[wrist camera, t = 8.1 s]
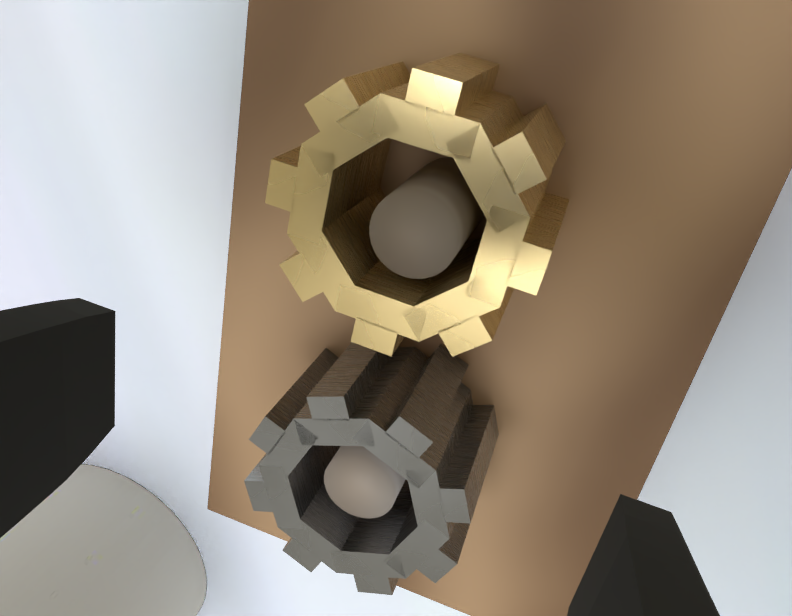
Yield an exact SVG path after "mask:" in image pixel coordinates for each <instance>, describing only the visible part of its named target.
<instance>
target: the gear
mask: <svg viewBox="0 0 792 616" xmlns="http://www.w3.org/2000/svg"><path fill="white" fill-rule="evenodd" d="M468 366H469V365H468V364H467V363H466V362H464V361H463V360H462V359H460V358H459V357H458V356H457V355H455V356H453V357H452V356H451V354H450V352H449V350H448V349H447V348H446V347H445V346H444V345H442V344H440V345H439V346H438V347H437V348H436V350H435V351H434V352H433V353H432V354H431V356H430V357H428V356H426V355H425V354H424V353H422V352H421V351H420V350H419V349H417V348H416V347H398V348H397V349H396V351H395V352H394V354H393V355H392V357H391V356H388V355H386V354H383V353H380V352H378V351H375V350H372V349H369V348H367V347H364V346H361V345H359V344H356V343H353V342H351V344H350V345H349V346H348V347H347V348H346V350H345V351H344V352H343V353H342V354H341V356H340V357H337V356H336V355H335V354H333V353H332V352H331V351H330V350H328V349H327V348H325V349H324V350H323V352H322V353H321V354H320V355H319V356H318V357H317V358H316V360H315V361H314V362H313V363H312V364H311V365H310V366H309V367H308V369H307V370H306V371H305V372H304V373H303V374H302V375H301V376H300V378H299V379H298V380H297V381H296V382H295V383H294V384H293V385H292V387H291V388H290V389H289V390H288V391H287V392H286V393H285V394H284V396H283V397H282V398H281V399H280V400H279V401H278V402H277V404H276V405H275V406H274V407H273V408H272V409H271V410H270V411H269V413H268V414H267V415H266V416H265V417H264V419H263V420H262V421H261V423H260V424H259V426H258V427H257V429H256V430H255V431H254V433H253V434H252V436H251V437H250V438H249V440H250V441H251V442H252V443H254V444H255V445H256V446H257V447H259V448H260V449H261V450H263V451H264V452H265V453H266V454H265V455H264V457H263V458H262V459H261V460H260V462H259V463H258V464H257V465H256V467H255V468H254V469H253V470H252V471H251V473H250V474H249V475H248V476H247V478H246V479H245V480H244V482H245V485H246V489H247V492H248V495H249V498H250V501H251V504H252V508H253V511H262V512H273V514H274V517H275V520H276V523H277V527H278V528H279V529H280V530H282V531H283V532H284V533H286V534H287V535H288V536H290V537H291V538H290V539H289V541H288V543H287V544H286V546H285V547H284V549H283V551H284V552H285V553H287V554H288V555H289V556H291V557H292V558H293V559H295V560H296V561H297V562H298V563H300V564H301V565H302V566H304V567H305V568H306V569H307V570H309V571H310V572H312V571H313V570H314V569H315V568H316V567H317V565H318V564H319V563H320V562H321V561H322V562H323V563H325V564H326V565H327V566H328V567H330V568H331V569H332V570H334V571H335V572H336V573H346V574H354V578H355V582H356V586H357V589H358V592H367V593H377V594H387V595H392V594H393V592H394V589H395V587H396V584H397V582H398V580H399V578H402V579H406V578H407V577H409V576H410V575H411V574H412V573H413V572H414V571H415V570H416V569H417V570H418V571H420V572H421V573H422V574H423V575H425V576H426V577H427V578H429V579H430V580H431V581H433V582H434V583H436V582H438V581H439V580H440V579H441V578H442V577H443V576H444V575H446V574H447V573H448V572H449V571H450V570H451V569H452V568H453V567H455V566H456V565H457V564H458V560H459V557H460V554H461V551H462V548H463V545H464V542H465V538H466V535H467V532H468V529H469V526H470V523H471V520H472V517H473V514H474V511H475V508H476V505H477V501H478V498H479V495H480V492H481V489H482V486H483V483H484V479H485V476H486V473H487V470H488V467H489V464H490V461H491V457H492V454H493V451H494V448H495V445H496V442H497V439H498V435H499V434H498V427H497V421H496V414H495V408H494V405H473V401H472V395H471V390H470V389H469V388H468V387H467V386H465V385H464V384H463V383H461V381H462V379H463V377H464V374H465V372H466V370H467V368H468ZM341 446H363V447H365V448H366V449H367V450H369V451H370V452H371V453H372V454H374V455H375V456H376V457H378V458H379V459H380V460H381V461H383V462H384V463H385V464H387V465H388V466H389V467H391V468H392V469H393V470H394V471H396V472H397V473H398V474H400V475H401V476H402V477H404V478H405V482H404V484H403V486H402V488H401V490H400V492H399V494H398V496H397V498H396V500H395V502H394V504H393V506H392V508H391V509H390V510H389V511H388V512H387V513H386V514H384V515H383V516H380V517H377V518H361V517H357V516H354V515H351V514H349V513H347V512H345V511H344V510H342V509H341V508H340V507H338V506H337V505H336V504H335V503H334V502H333V500H332V499H331V498H330V496H329V495H328V493H327V491H326V488H325V484H324V473H325V470H326V468H327V466H328V465H329V463H330V462H331V460H332V459H333V457H334V456H335V454H336V453H337V451H338V450H339V448H340V447H341Z"/></svg>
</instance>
